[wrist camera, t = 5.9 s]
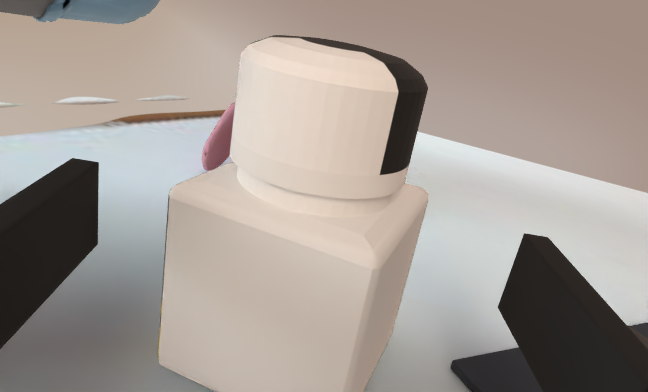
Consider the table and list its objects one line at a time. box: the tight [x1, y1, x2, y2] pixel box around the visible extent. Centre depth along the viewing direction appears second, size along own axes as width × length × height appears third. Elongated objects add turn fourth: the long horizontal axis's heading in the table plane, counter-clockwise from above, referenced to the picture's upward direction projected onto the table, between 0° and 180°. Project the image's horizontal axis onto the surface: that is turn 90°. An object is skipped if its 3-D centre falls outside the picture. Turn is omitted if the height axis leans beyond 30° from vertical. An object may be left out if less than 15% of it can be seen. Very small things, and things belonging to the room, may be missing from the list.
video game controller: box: [202, 103, 235, 170], centre depth 38 cm, size 10×5×7 cm, turn 75°
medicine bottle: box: [158, 35, 428, 392], centre depth 18 cm, size 7×7×12 cm
